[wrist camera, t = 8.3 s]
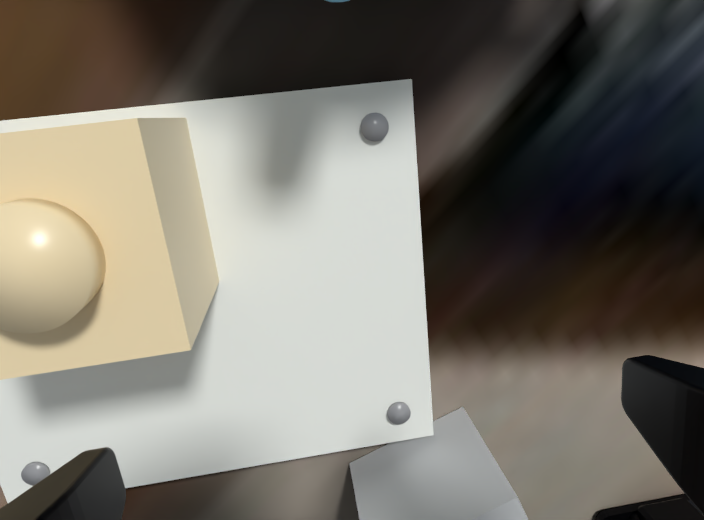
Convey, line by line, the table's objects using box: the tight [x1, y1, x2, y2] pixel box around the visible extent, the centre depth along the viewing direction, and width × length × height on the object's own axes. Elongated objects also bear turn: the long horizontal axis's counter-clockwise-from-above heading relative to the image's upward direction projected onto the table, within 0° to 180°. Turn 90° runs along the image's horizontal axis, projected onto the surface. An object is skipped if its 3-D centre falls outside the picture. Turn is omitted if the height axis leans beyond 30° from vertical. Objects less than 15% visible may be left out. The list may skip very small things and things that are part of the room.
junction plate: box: [0, 79, 434, 503], centre depth 17 cm, size 15×18×5 cm
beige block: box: [0, 118, 219, 380], centre depth 14 cm, size 6×6×7 cm
